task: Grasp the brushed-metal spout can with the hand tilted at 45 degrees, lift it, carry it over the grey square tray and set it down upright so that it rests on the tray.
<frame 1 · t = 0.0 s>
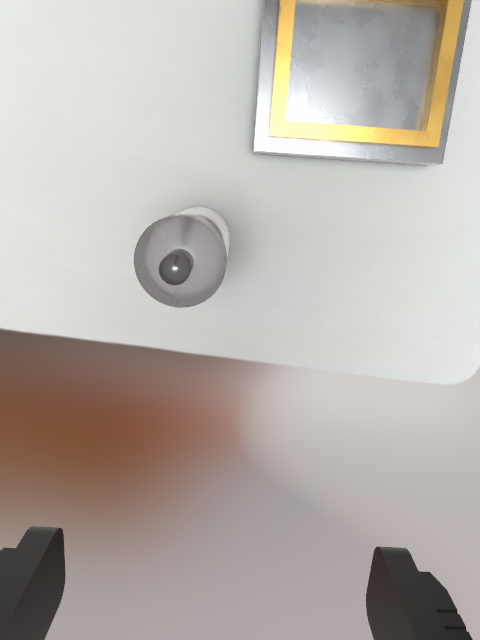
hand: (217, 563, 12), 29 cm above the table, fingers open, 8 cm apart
grey square tray: (349, 76, 35), on the table
spout can: (199, 238, 38), on the table
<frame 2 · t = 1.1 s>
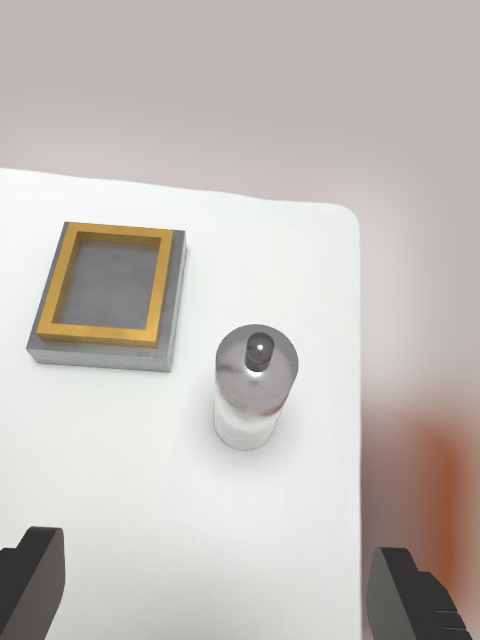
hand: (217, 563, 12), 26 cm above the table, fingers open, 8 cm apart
grey square tray: (117, 301, 45), on the table
spout can: (244, 420, 40), on the table
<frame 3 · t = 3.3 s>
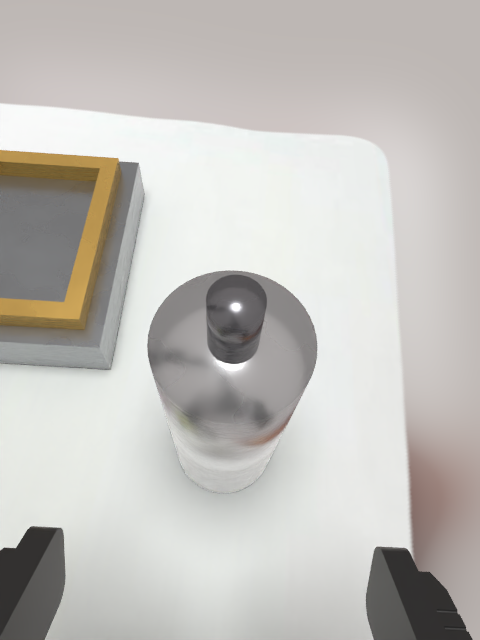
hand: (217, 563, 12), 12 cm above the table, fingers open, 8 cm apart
grey square tray: (38, 266, 31), on the table
spout can: (224, 443, 25), on the table
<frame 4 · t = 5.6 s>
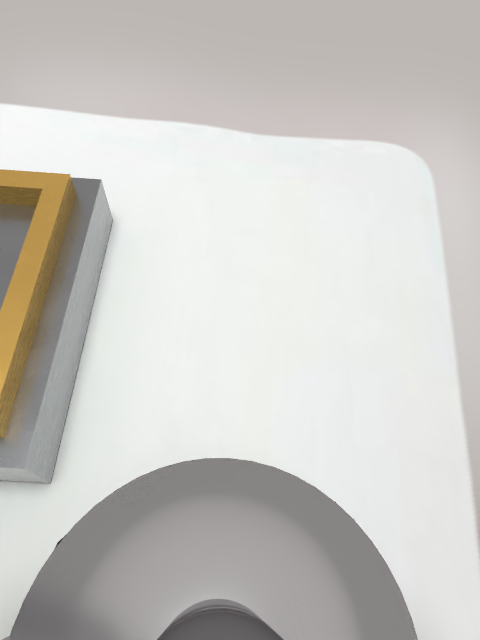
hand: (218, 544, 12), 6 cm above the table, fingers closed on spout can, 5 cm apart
spout can: (213, 607, 17), on the table, touching gripper
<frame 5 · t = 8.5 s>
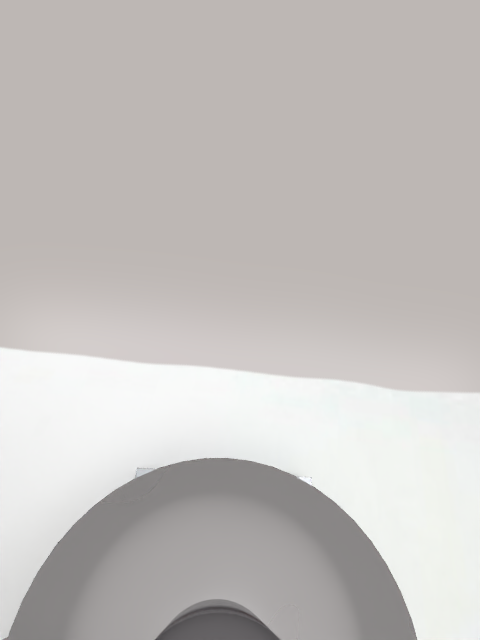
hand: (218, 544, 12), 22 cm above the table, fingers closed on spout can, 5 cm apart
spout can: (214, 607, 17), point 16 cm above the table, touching gripper
when the fingers open (11 cm above the table, at t = 11.2 s): spout can drops 1 cm, resting on grey square tray.
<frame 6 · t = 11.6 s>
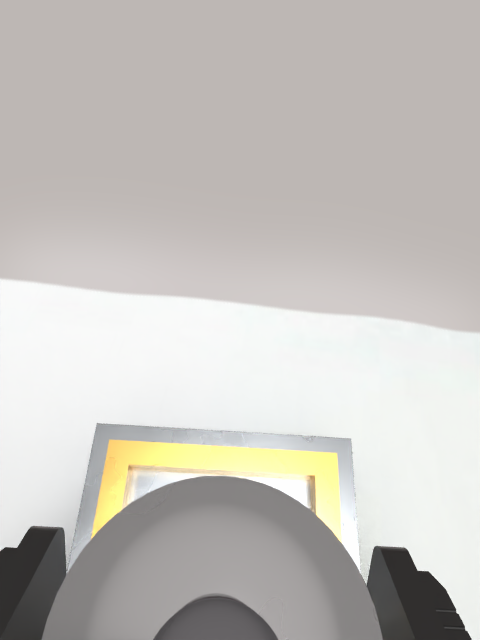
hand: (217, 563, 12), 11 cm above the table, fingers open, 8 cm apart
grey square tray: (213, 601, 21), on the table
spout can: (213, 608, 18), point 3 cm above the table, touching grey square tray
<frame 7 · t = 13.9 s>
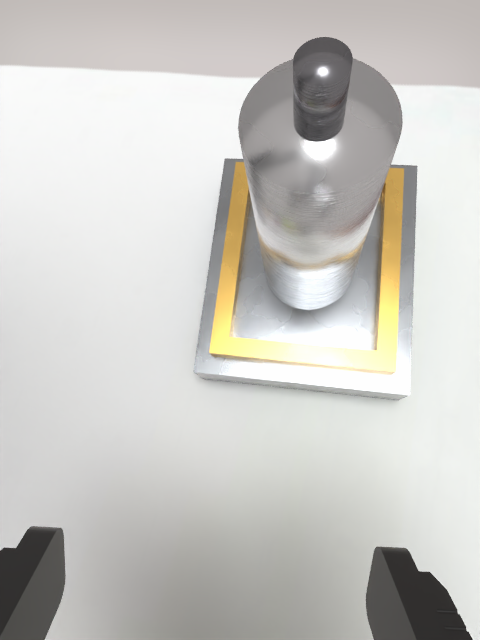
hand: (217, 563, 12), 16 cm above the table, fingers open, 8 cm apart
grey square tray: (307, 282, 30), on the table
spout can: (308, 267, 27), point 3 cm above the table, touching grey square tray
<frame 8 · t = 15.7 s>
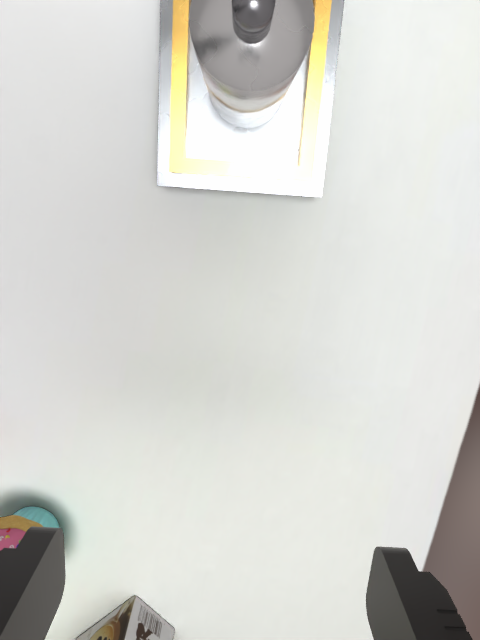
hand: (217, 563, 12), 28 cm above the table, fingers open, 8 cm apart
grey square tray: (246, 94, 34), on the table
cupcake: (34, 525, 45), on the table
coffee box: (126, 631, 49), on the table
spout can: (246, 87, 31), point 3 cm above the table, touching grey square tray
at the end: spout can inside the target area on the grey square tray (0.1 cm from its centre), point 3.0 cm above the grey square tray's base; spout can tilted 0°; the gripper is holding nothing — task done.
